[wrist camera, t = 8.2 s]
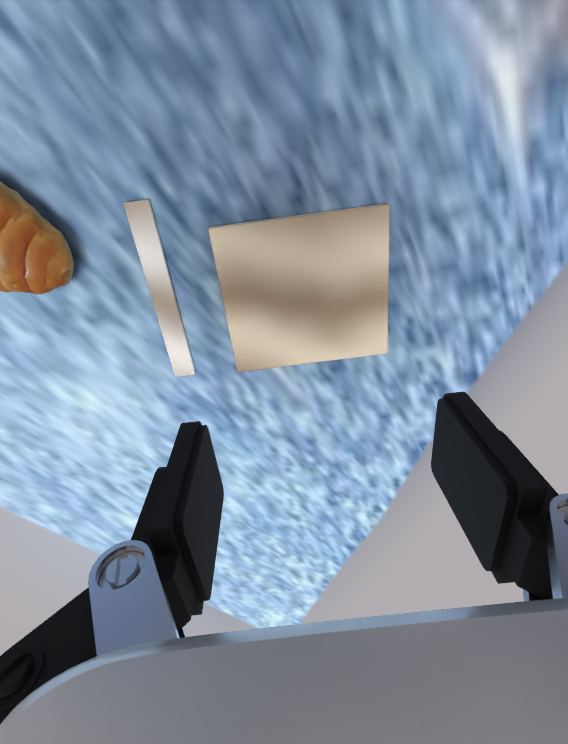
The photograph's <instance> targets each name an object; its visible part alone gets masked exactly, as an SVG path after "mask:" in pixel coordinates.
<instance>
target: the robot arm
mask: <svg viewBox="0 0 568 744" xmlns="http://www.w3.org/2000/svg"><path fill="white" fill-rule="evenodd" d="M431 468H432V472H433V475H434V477H435V479H436V481H437V483H438V484H439V486H440V488H441V490H442V492H443V494H444V495H445V497H446V499H447V501H448V503H449V505H450V507H451V508H452V510H453V512H454V514H455V516H456V518H457V519H458V521H459V523H460V525H461V527H462V529H463V531H464V532H465V534H466V536H467V538H468V540H469V542H470V544H471V545H472V547H473V549H474V551H475V553H476V555H477V557H478V559H479V560H480V562H481V564H482V566H483V567H484V569H485V570H486V571H491V572H492V573H493V575H494V577H495V579H496V581H497V582H498V584H499V583H509V582H515V583H516V585H517V586H519V587H520V588H522V589H523V596H524V602H514V603H504V604H494V605H483V606H473V607H463V608H452V609H442V610H432V611H422V612H413V613H403V614H393V615H384V616H373V617H365V618H354V619H344V620H335V621H325V622H316V623H306V624H297V625H288V626H279V627H269V628H260V629H252V630H242V631H232V632H224V633H216V634H208V635H200V636H193V637H186V634H185V631H184V628H183V627H184V626H185V625H186V624H187V623H188V622H189V621H190V620H191V615H199V614H202V609H203V603H204V601H207V600H209V599H210V596H211V590H212V582H213V574H214V567H215V559H216V551H217V544H218V536H219V528H220V521H221V513H222V505H223V497H224V492H223V485H222V481H221V477H220V473H219V469H218V465H217V461H216V457H215V454H214V450H213V446H212V442H211V438H210V434H209V430H208V427H207V425H201V423H200V422H199V421H197V422H188V423H182V424H181V425H180V428H179V431H178V434H177V437H176V440H175V443H174V446H173V449H172V452H171V455H170V458H169V461H168V464H167V467H159V468H158V469H157V471H156V472H155V475H154V478H153V480H152V483H151V486H150V489H149V491H148V494H147V497H146V500H145V503H144V505H143V508H142V511H141V514H140V516H139V519H138V522H137V525H136V527H135V530H134V533H133V536H132V538H131V540H130V541H124V542H121V543H119V544H116V545H114V546H113V547H111V548H109V549H108V550H106V551H105V552H104V553H103V554H102V555H101V556H100V557H99V558H98V559H97V561H96V562H95V563H94V565H93V566H92V569H91V571H90V573H89V581H88V584H89V587H88V588H87V589H86V590H85V591H83V592H82V593H81V594H80V595H78V596H77V597H75V598H74V599H73V600H72V601H70V602H69V603H68V604H66V605H65V606H64V607H63V608H61V609H60V610H59V611H57V612H56V613H55V614H53V615H52V616H51V617H50V618H48V619H47V620H46V621H44V622H43V623H42V624H41V625H39V626H38V627H37V628H36V629H34V630H33V631H32V632H30V633H29V634H28V635H26V636H25V637H24V638H23V639H21V640H20V641H19V642H17V643H16V644H15V645H13V646H12V647H11V648H10V649H8V650H7V651H6V652H5V653H3V654H2V655H1V656H0V744H568V494H561V495H559V494H558V493H556V491H555V490H554V489H553V488H552V487H551V486H550V484H549V483H548V482H547V481H546V480H545V479H544V477H543V476H542V475H541V474H540V473H539V472H538V471H537V470H536V469H535V468H534V466H533V465H532V464H531V463H530V462H529V461H528V459H527V458H526V457H525V456H524V455H523V454H522V453H521V452H520V450H519V449H518V448H517V447H516V446H515V445H514V444H513V443H512V441H510V439H508V437H507V436H506V435H505V434H504V433H503V432H502V431H499V430H498V429H497V428H496V426H495V425H494V424H493V423H492V422H491V421H490V420H489V419H488V418H487V416H486V415H485V414H484V413H483V412H482V411H481V409H480V408H479V407H478V406H477V405H476V404H475V403H474V402H473V400H472V399H471V398H470V397H469V396H468V395H467V394H466V393H465V392H456V393H447V394H444V396H443V399H439V400H438V403H437V412H436V422H435V431H434V441H433V450H432V460H431Z"/></svg>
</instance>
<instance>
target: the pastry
mask: <svg viewBox="0 0 568 744" xmlns="http://www.w3.org/2000/svg"><path fill="white" fill-rule="evenodd" d="M73 270H74V263H73V258H72V254H71V250H70V248H69V245H68V243H67V241H66V240H65V238H64V236H63V234H62V233H61V232H60V231H59V230H57V229H56V228H55V227H53V226H52V225H51V224H50V222H49V221H47V220H46V219H44V218H43V217H42V216H41V215H40V214H39V213H38V211H37V210H36V209H35V208H34V207H33V206H31V205H30V204H28V203H27V202H26V201H25V199H24V198H23V197H22V196H21V195H20V194H19V193H18V192H17V191H15V190H13V189H10V188H8V187H7V186H6V185H4V184H3V183H2V182H1V181H0V291H4V292H12V291H16V292H28V293H34V294H43V293H46V292H50V291H51V290H53V289H55V288H57V287H59V286H65V285H66V284H68V283H69V281H70V279H71V277H72V274H73Z"/></svg>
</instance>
